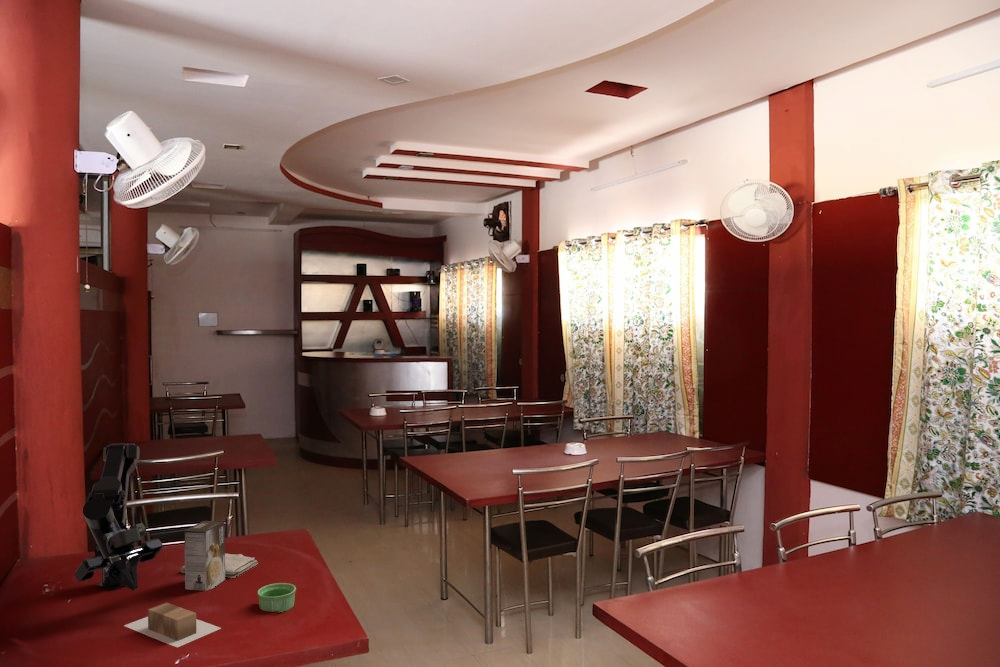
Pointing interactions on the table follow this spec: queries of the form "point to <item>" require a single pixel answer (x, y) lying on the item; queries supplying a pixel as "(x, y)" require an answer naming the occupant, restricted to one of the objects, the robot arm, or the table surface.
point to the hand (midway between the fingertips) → (135, 589)
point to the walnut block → (172, 621)
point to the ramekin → (276, 597)
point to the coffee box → (204, 555)
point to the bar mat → (201, 631)
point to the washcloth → (235, 565)
